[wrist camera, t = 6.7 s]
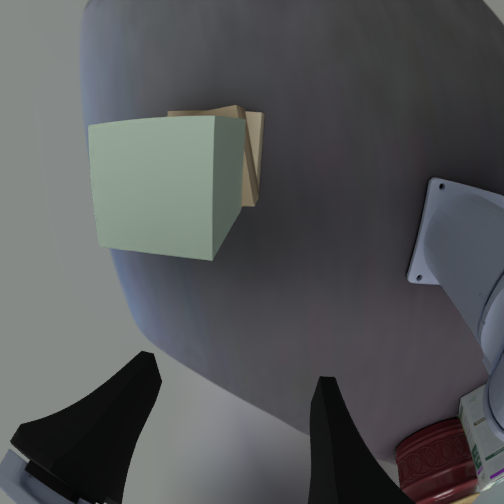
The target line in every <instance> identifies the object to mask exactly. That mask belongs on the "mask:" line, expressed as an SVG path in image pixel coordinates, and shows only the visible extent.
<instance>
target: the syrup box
mask: <svg viewBox="0 0 504 504" xmlns="http://www.w3.org/2000/svg"><path fill="white" fill-rule="evenodd" d="M485 385H486V384H484V385H482V386H480V387H479V388H477V389H475V390H473V391H472V392H470V393H468V394H466V395H464V396H463V397H461V398H460V406H459V418H460V421H461V424H462V427H463V430H464V433H465V436H466V439H467V442H468V446H469V449H470V452H471V456H472V460H473V463H474V467H475V471H476V475H477V478H478V483H479V487H480V491H481V492H482V491H484V490H487V489H489V488H491V487H493V486H495V485H497V484H498V483H500V482H502V481H503V480H504V442H503V441H501V440H500V439H499V438H498V437H497V436H495V434H494V433H493V432H492V431H491V429H490V427H489V426H488V424H487V422H486V419H485V416H484V411H483V392H484V389H485Z"/></svg>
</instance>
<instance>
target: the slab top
mask: <svg viewBox="0 0 504 504" xmlns="http://www.w3.org/2000/svg"><path fill="white" fill-rule="evenodd" d="M188 116H223V117H231V118H239V119H246V122H245V141H244V161H243V181H242V203H241V207H243V206H251V205H254V204H255V202H256V200H257V197H258V195H259V187H258V181H257V176H256V170H255V164H254V158H253V152H252V147H251V141H250V135H249V129H248V124H247V118H246V113H245V108H244V107H241V106H238V105H233V106H228V107H223V108H218V109H214V110H209V111H205V112H201V113H196V114H192V115H188Z"/></svg>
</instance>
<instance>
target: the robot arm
mask: <svg viewBox="0 0 504 504" xmlns="http://www.w3.org/2000/svg"><path fill="white" fill-rule="evenodd" d="M441 183H442V184H443V187H442V188H441V189H439V185H440V184H441ZM418 275H421V276H420V277H419V278H417V276H418ZM407 279H408V281H409V282H410V283H419V284H435V285H441V286H442V288H443V289H444V290H445V292H446V293H447V295H448V296H449V298H450V299H451V300H452V302H453V303H454V305H455V306H456V308H457V309H458V311H459V312H460V314H461V316H462V317H463V319H464V320H465V322H466V323H467V325H468V327H469V328H470V330H471V331H472V333H473V335H474V336H475V338H476V340H477V341H478V343H479V345H480V347H481V348H482V350H483V352H484V358H483V361H482V362H483V364H484V365H485V367H486V369H487V371H488V373H489V375H490V376H489V378H488V380H487V383H486V385H485V389H484V392H483V411H484V416H485V419H486V422H487V424H488V426H489V427H490V429H491V431H492V432H493V433H494V434H495V436H497V437H498V438H499V439H500V440H501V441H503V442H504V196H503V195H500V194H496V193H493V192H490V191H486V190H483V189H479V188H476V187H472V186H468V185H465V184H461V183H457V182H453V181H449V180H444V179H440V178H436V177H433V178H431V179H430V180H429V183H428V189H427V194H426V200H425V205H424V210H423V215H422V219H421V224H420V228H419V232H418V237H417V241H416V244H415V248H414V252H413V256H412V259H411V263H410V266H409V270H408V273H407ZM161 383H162V380H161V376H160V373H159V370H158V367H157V363H156V360H155V357H154V354H153V353H148V352H145V351H141V352H140V353H139V354H138V355H136V356H135V357H134V358H133V359H132V360H131V361H130V362H129V363H127V364H126V365H125V366H124V367H123V368H122V369H121V370H120V371H118V372H117V373H116V374H115V375H114V376H112V377H111V378H110V379H109V380H108V381H106V382H105V383H104V384H102V385H101V386H100V387H98V388H97V389H96V390H94V391H93V392H92V393H90V394H89V395H87V396H86V397H84V398H83V399H81V400H80V401H78V402H76V403H74V404H73V405H71V406H69V407H67V408H65V409H63V410H61V411H59V412H57V413H54V414H52V415H49V416H47V417H44V418H42V419H38V420H35V421H31V422H28V423H24V424H21V425H20V426H19V428H18V429H17V431H16V433H15V434H14V436H13V437H12V439H11V441H10V442H11V444H12V445H13V446H14V447H15V448H17V449H18V450H19V451H20V452H21V453H22V454H24V455H25V456H26V457H27V458H28V459H30V461H29V463H27V462H26V461H25V460H23V459H22V458H21V457H20V456H18V455H17V454H16V453H15V452H13V451H12V450H11V449H9V450H8V452H7V454H6V455H5V457H4V459H3V461H2V462H1V464H0V488H1V489H2V490H3V491H4V492H5V493H6V494H7V495H8V496H9V497H10V498H11V499H12V500H13V501H14V502H15V503H16V504H95V503H96V502H97V503H99V504H104V502H105V503H107V504H122V498H123V492H124V486H125V482H126V477H127V473H128V469H129V465H130V461H131V458H132V455H133V452H134V449H135V445H136V442H137V440H138V438H139V435H140V433H141V431H142V429H143V427H144V425H145V422H146V420H147V418H148V416H149V414H150V412H151V410H152V408H153V406H154V404H155V401H156V399H157V396H158V393H159V390H160V386H161ZM310 443H311V480H310V490H309V498H308V504H416V503H415V502H414V501H413V500H412V499H411V498H409V497H408V496H407V495H406V494H405V493H404V492H403V491H402V490H401V489H400V488H399V487H398V486H397V485H396V484H395V483H394V482H393V481H392V480H391V478H390V477H389V476H388V475H387V473H386V472H385V471H384V470H383V469H382V467H381V466H380V465H379V464H378V462H377V461H376V459H375V458H374V457H373V455H372V454H371V452H370V451H369V449H368V448H367V446H366V444H365V443H364V441H363V439H362V437H361V436H360V434H359V432H358V430H357V428H356V426H355V424H354V422H353V420H352V418H351V416H350V414H349V412H348V410H347V407H346V405H345V403H344V400H343V398H342V395H341V393H340V390H339V387H338V384H337V381H336V378H335V377H322V376H320V377H319V380H318V383H317V386H316V390H315V393H314V395H313V398H312V401H311V410H310Z"/></svg>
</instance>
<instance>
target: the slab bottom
mask: <svg viewBox="0 0 504 504" xmlns="http://www.w3.org/2000/svg"><path fill="white" fill-rule="evenodd" d="M205 111H209V110H191V111H168V117H176V116H188V115H192V114H196V113H201V112H205ZM245 113H246V118H247V124H248V129H249V135H250V141H251V147H252V152H253V158H254V164H255V170H256V176H257V181H258V187H260V174H261V161H262V148H263V136H264V123H265V114H264V113H262V112H247V111H245ZM258 198H259V195H258V197H257V200H258ZM257 200H256V202H257ZM256 202H255V204H256ZM255 204H254V205H251V206H253V207H255Z"/></svg>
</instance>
